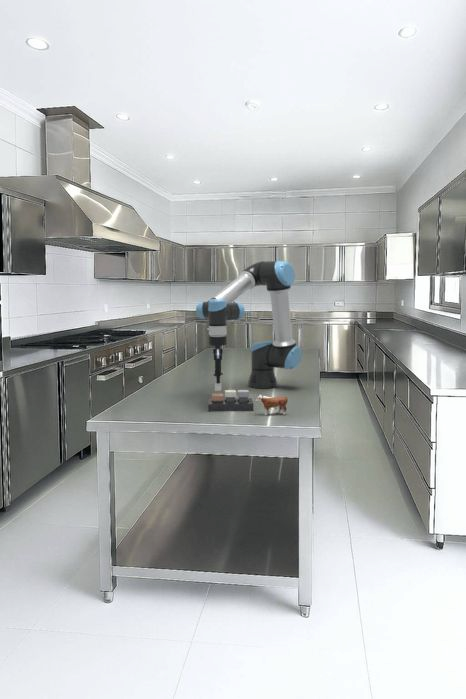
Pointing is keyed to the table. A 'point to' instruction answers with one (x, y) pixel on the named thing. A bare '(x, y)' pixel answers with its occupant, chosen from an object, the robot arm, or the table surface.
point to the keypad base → (230, 405)
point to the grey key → (243, 395)
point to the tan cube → (217, 397)
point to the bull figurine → (272, 403)
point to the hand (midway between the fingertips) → (218, 390)
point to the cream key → (230, 395)
